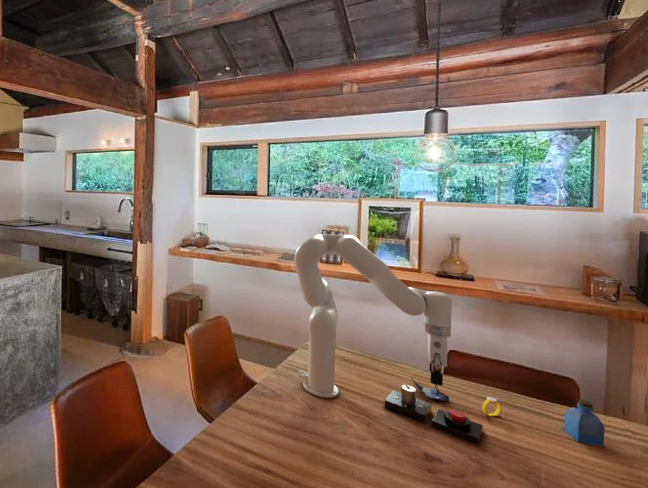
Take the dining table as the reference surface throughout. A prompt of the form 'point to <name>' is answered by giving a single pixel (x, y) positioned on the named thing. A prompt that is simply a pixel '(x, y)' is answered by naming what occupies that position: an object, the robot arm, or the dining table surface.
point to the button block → (458, 427)
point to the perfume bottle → (584, 424)
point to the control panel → (408, 407)
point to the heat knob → (408, 395)
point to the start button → (457, 415)
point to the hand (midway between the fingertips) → (435, 378)
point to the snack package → (432, 393)
